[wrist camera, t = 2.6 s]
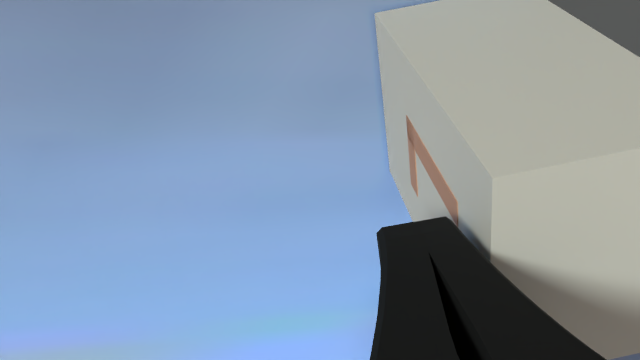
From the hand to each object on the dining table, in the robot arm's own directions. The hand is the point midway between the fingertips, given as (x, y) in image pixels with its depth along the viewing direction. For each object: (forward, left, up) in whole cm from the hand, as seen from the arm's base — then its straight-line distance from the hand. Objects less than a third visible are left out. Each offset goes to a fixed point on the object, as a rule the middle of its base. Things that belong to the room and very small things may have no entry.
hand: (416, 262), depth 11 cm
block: (-2, -2, -3) cm, 4 cm away
